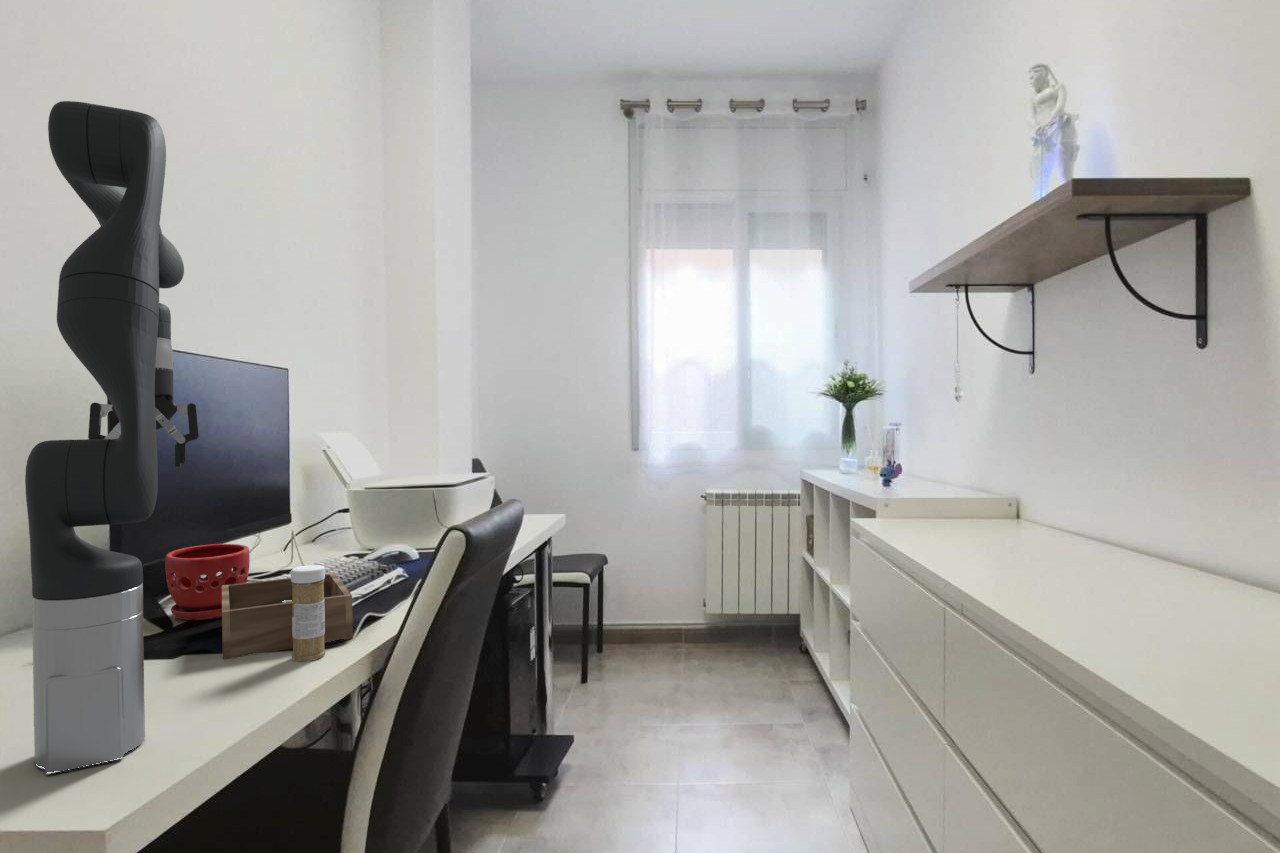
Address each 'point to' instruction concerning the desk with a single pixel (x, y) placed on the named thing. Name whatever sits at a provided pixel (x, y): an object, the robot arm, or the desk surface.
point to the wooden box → (276, 615)
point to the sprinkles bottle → (308, 612)
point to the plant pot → (204, 594)
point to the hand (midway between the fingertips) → (146, 468)
